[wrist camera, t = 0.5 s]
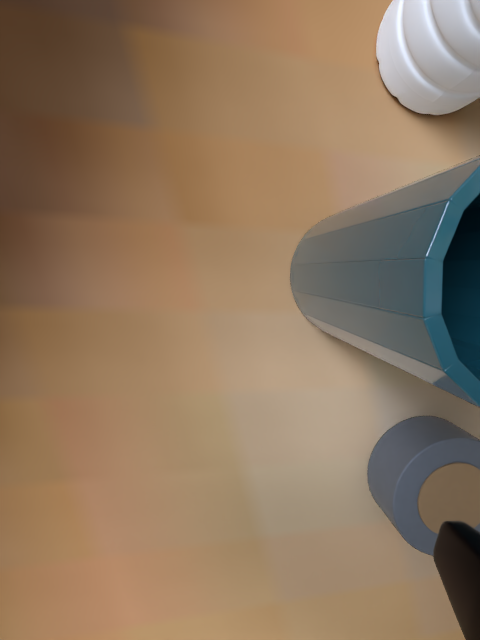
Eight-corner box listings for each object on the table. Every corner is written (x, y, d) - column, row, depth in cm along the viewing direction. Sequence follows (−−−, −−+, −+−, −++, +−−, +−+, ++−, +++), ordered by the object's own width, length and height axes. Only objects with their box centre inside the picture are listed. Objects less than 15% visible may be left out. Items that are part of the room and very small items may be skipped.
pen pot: (406, 332, 23) (677, 413, 10) (290, 338, 22) (421, 433, 9) (408, 210, 22) (708, 128, 9) (288, 213, 21) (428, 128, 8)
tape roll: (469, 514, 25) (511, 552, 21) (366, 525, 24) (393, 565, 21) (474, 411, 24) (518, 434, 21) (367, 419, 23) (395, 444, 20)
